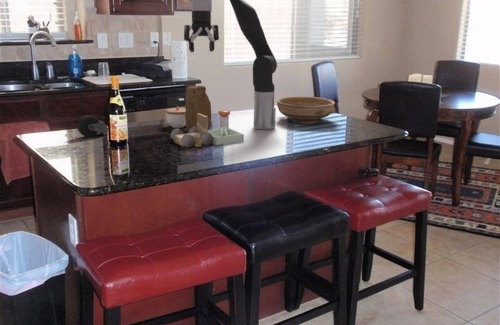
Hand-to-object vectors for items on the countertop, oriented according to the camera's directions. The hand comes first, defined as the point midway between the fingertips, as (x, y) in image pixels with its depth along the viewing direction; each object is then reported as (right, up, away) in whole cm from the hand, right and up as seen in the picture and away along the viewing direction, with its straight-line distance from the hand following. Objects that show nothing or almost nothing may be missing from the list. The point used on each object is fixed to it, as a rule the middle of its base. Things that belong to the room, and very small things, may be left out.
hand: (201, 51), depth 205 cm
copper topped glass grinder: (+9, -34, +11) cm, 37 cm away
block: (-4, -30, +25) cm, 40 cm away
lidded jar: (-14, -28, +33) cm, 45 cm away
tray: (+8, -35, +9) cm, 37 cm away
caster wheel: (-46, -33, +13) cm, 59 cm away
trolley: (-4, -37, +4) cm, 37 cm away
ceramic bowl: (+47, -24, +48) cm, 72 cm away
